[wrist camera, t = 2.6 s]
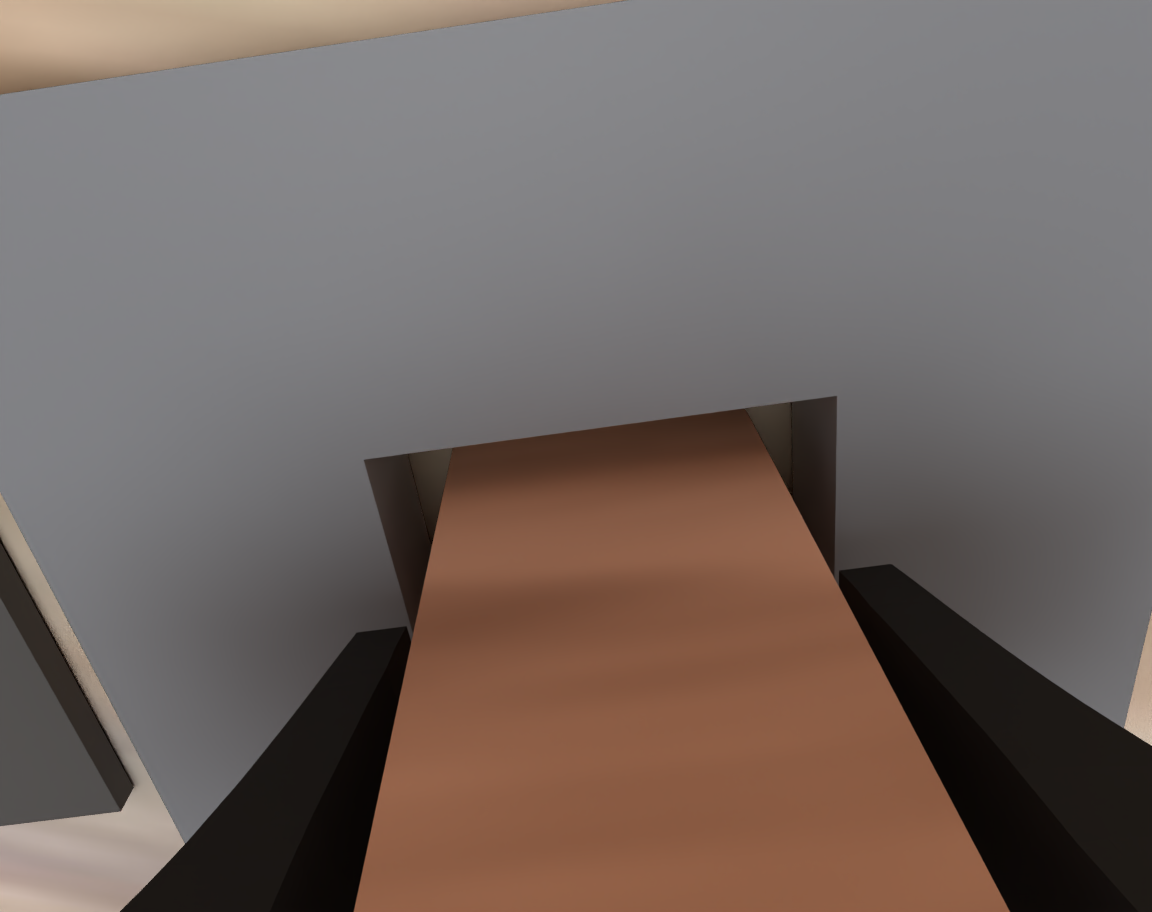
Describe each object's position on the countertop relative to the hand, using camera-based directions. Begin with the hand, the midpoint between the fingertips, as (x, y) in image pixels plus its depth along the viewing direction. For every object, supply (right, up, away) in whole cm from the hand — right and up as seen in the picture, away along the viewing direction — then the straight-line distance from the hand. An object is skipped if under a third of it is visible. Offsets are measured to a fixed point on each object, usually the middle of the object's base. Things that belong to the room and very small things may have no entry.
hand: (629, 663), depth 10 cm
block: (0, +1, +3) cm, 3 cm away
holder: (0, +1, +3) cm, 3 cm away
